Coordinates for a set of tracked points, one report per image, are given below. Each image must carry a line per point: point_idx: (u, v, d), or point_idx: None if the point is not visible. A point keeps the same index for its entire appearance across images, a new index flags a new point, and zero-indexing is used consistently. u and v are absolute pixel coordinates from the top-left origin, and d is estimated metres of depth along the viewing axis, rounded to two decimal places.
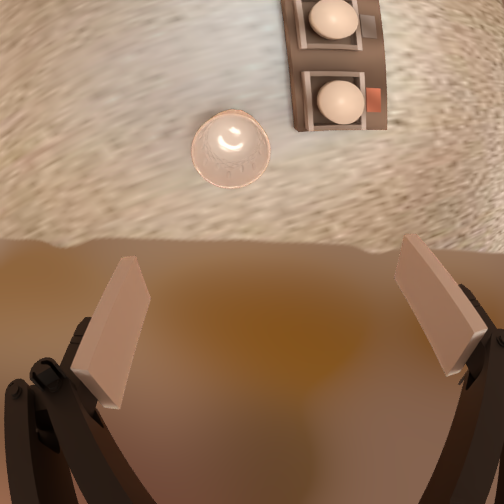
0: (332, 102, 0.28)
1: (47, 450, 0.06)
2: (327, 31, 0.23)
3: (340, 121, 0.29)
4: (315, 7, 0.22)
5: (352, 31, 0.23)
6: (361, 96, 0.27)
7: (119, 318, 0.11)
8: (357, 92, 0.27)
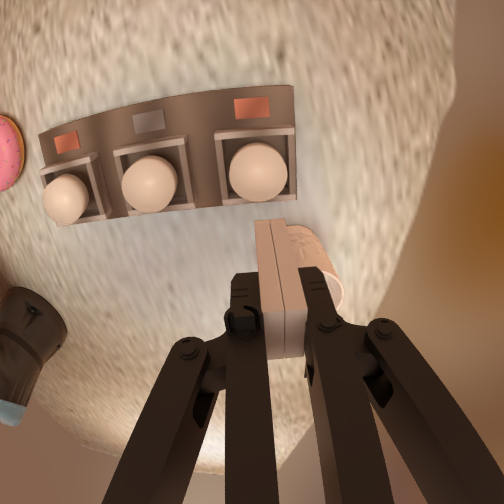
0: (259, 188, 0.26)
1: (194, 424, 0.08)
2: (167, 196, 0.26)
3: (283, 177, 0.25)
4: (140, 210, 0.26)
5: (160, 167, 0.24)
6: (247, 152, 0.24)
7: None
8: (242, 157, 0.24)
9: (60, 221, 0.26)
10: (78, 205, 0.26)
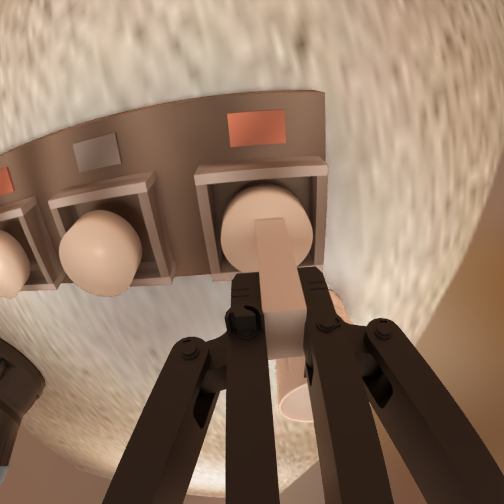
0: None
1: (194, 425, 0.08)
2: (125, 277, 0.16)
3: (306, 243, 0.16)
4: (91, 292, 0.17)
5: (108, 236, 0.15)
6: (250, 205, 0.15)
7: None
8: (242, 214, 0.15)
9: (0, 293, 0.17)
10: (14, 278, 0.16)
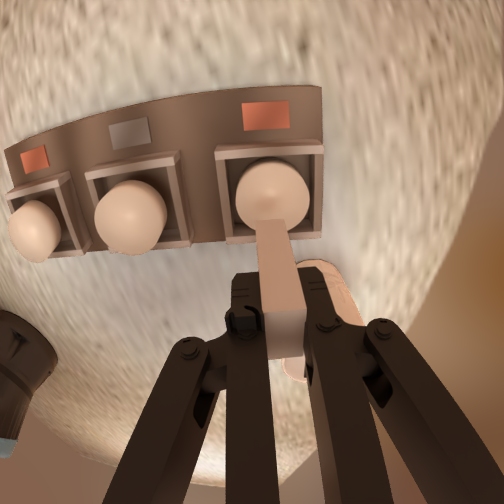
0: (273, 218, 0.21)
1: (195, 425, 0.08)
2: (152, 236, 0.19)
3: (304, 204, 0.20)
4: (120, 251, 0.20)
5: (141, 199, 0.18)
6: (259, 172, 0.19)
7: None
8: (253, 179, 0.19)
9: (30, 258, 0.20)
10: (47, 241, 0.20)
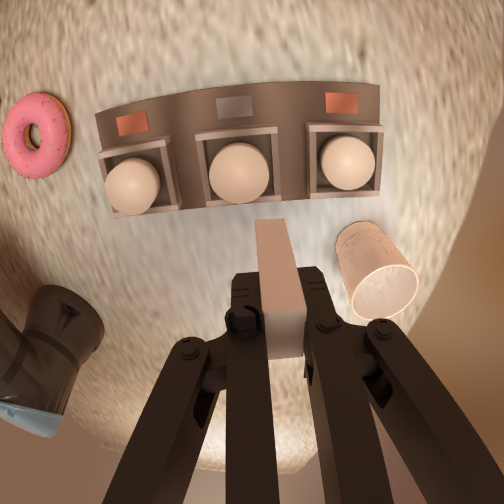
0: (349, 177, 0.26)
1: (194, 425, 0.08)
2: (260, 186, 0.25)
3: (370, 168, 0.25)
4: (228, 200, 0.26)
5: (256, 155, 0.23)
6: (342, 142, 0.24)
7: None
8: (337, 147, 0.24)
9: (125, 211, 0.26)
10: (151, 193, 0.25)
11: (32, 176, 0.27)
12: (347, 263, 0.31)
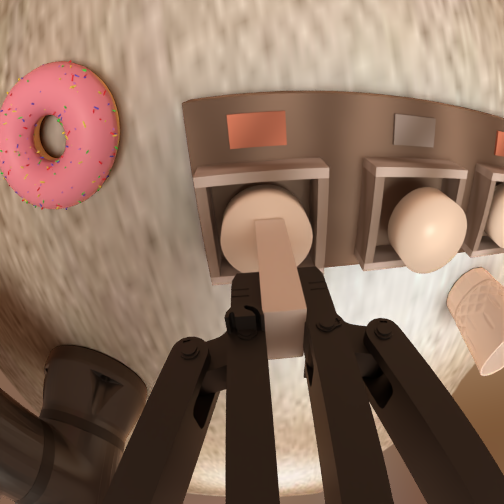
0: None
1: (194, 425, 0.08)
2: (452, 252, 0.16)
3: None
4: (414, 269, 0.16)
5: (461, 213, 0.14)
6: None
7: None
8: None
9: (253, 271, 0.17)
10: (306, 247, 0.16)
11: (48, 206, 0.17)
12: (477, 320, 0.22)
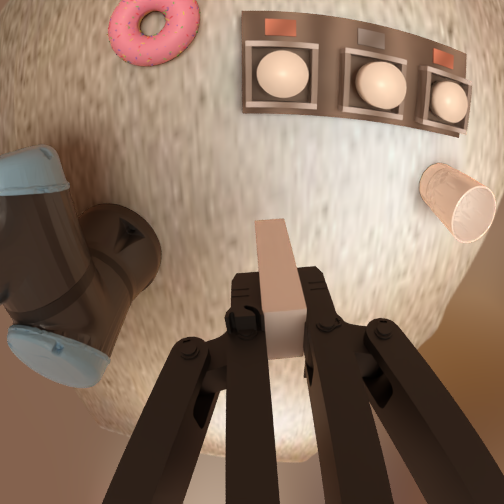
0: (451, 112, 0.25)
1: (194, 425, 0.08)
2: (399, 98, 0.24)
3: (465, 109, 0.25)
4: (373, 103, 0.25)
5: (399, 72, 0.22)
6: (449, 83, 0.23)
7: None
8: (446, 86, 0.24)
9: (273, 92, 0.26)
10: (304, 80, 0.25)
11: (141, 59, 0.25)
12: (441, 188, 0.31)
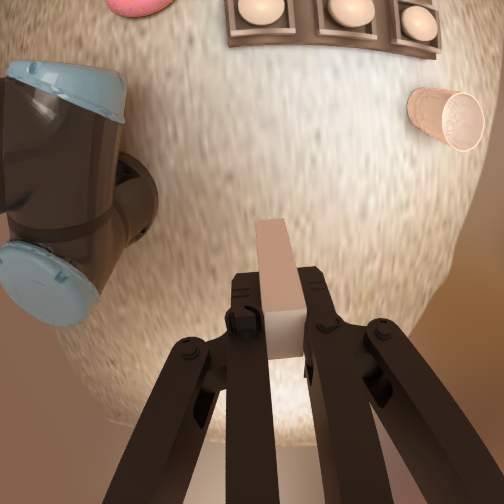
0: (422, 31, 0.24)
1: (194, 424, 0.08)
2: (369, 16, 0.23)
3: (435, 29, 0.23)
4: (346, 21, 0.23)
5: None
6: (415, 7, 0.22)
7: None
8: (413, 9, 0.22)
9: (254, 20, 0.24)
10: (281, 8, 0.24)
11: (135, 9, 0.24)
12: (427, 102, 0.29)
